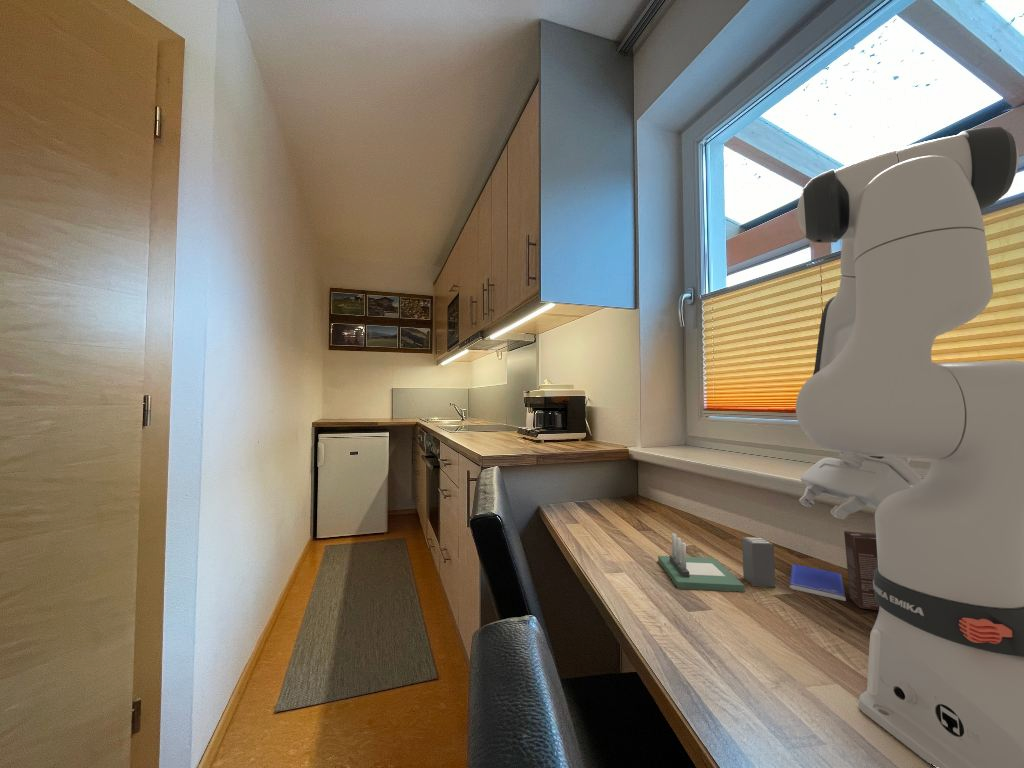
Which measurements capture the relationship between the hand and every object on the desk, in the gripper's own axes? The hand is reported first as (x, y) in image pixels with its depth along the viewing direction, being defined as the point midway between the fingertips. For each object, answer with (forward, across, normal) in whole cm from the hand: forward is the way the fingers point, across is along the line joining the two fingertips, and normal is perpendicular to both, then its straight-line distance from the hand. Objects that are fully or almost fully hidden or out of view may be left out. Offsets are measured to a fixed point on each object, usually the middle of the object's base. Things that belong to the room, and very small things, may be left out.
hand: (818, 510), depth 77 cm
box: (+8, +8, +13) cm, 17 cm away
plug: (+18, 0, +2) cm, 18 cm away
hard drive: (+11, -1, +10) cm, 15 cm away
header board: (+26, -2, -6) cm, 27 cm away
